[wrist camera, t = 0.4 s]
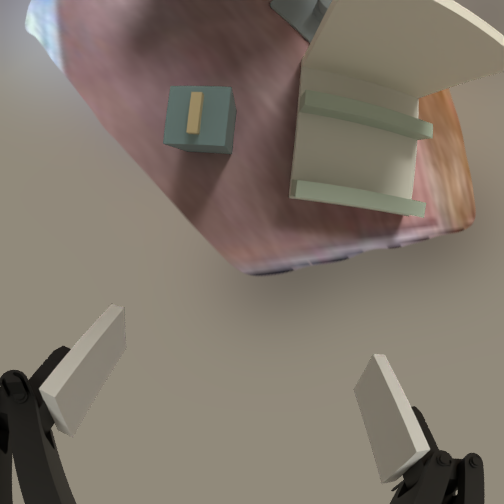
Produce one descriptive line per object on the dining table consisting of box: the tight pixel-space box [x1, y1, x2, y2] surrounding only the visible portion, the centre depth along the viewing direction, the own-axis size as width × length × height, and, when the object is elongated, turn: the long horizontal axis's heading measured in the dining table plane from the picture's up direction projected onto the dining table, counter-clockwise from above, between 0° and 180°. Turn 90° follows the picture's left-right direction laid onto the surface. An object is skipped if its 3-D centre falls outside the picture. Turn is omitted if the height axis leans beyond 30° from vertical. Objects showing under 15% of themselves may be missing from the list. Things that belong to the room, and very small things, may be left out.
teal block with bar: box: [163, 86, 236, 154], centre depth 29 cm, size 6×6×12 cm
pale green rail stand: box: [289, 0, 504, 218], centre depth 23 cm, size 20×18×24 cm
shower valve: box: [270, 0, 332, 43], centre depth 27 cm, size 12×6×15 cm
